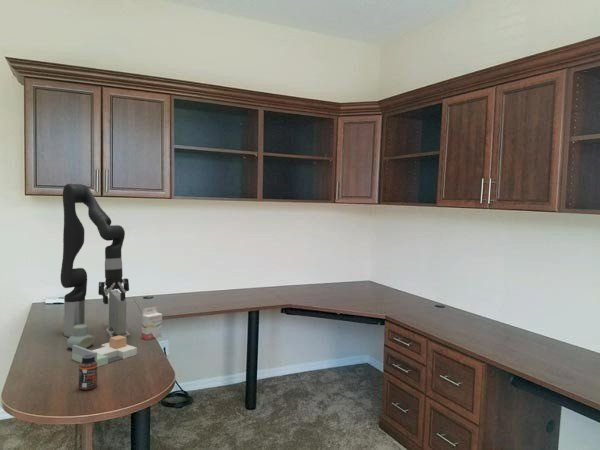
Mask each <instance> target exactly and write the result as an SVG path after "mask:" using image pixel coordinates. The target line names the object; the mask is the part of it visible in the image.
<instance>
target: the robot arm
mask: <svg viewBox="0 0 600 450" xmlns="http://www.w3.org/2000/svg"><path fill="white" fill-rule="evenodd" d="M62 203H63V234H62V235H63V236H62V237H63V238H62V239H63V241H62V244H63V246H62V248H63V249H62V250H63V251H62V261H61V269H60V283H61V285H62V287H63V288H64V289H70V288H73V289H72V290H71V291H70V292H68V293H66V294H65V295H64V297H63V299H64V301H63V302H64V306H63V307H64V308H63V309H64V311H63V312H64V313H63V336H65V337H69V338H70V337H71V336H73V327H74V326H76V325H81V324H85V325H86V296H87V290H88V289H87V287H88V273H87V270H86V269H85V268H83V267H77V268H74V263H75V259H76V256H78V254H79V252H80V251H81V249H82V248H83V245H84V243H85V227H84V226H83V223H82V222H81V219H79V217H78V214H77V210H76V203H77V204H83V205H85V206H86V207H87V208H88V211H87V212H88V213H87V214H88V217H89V219H90V221H91V222H92V223H93V224H94V225H95V226H96V229H97V230H98V233H99V236H100V238H101V239H102V240H105V241H112V242H111V244H110V245H107V246H105V249H104V278H105V281H99V282H98V294H97V295H99V296H102V303H103V304H104V305H109V292H110V291H111V290H118V291H119V292H120V296H121V301H125V298H126V293H127V292H129V291H130V285H129V279H128V278H123V260H122V248H123V244H124V240H125V236H126V235H125V229H124V227H123V226H122V225H118V224H114V225H112V220H111V218H110V216H109V215H107V213H106V211H104V210H103V209H102V207H101V206H100V204H99V203H98V201H97V200H96V198H95V196H94V194H93V193H92V191H91V190H90V188H89V187H88V186H87V185H85V184H81V183H80V184H79V183H78V184H77V183H67V184H64V187H63V189H62Z"/></svg>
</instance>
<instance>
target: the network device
mask: <svg viewBox="0 0 600 450" xmlns="http://www.w3.org/2000/svg"><path fill="white" fill-rule="evenodd" d="M120 293H121V292H120V290H118V289H114V290H111V291H110V292H109V294H108V325H109V326H110V327H107V328H106V329H105V330H106V332H107V334H108V336H109V338H111V337H115V336H119V335H121V336H124V337H126V336H127V337H129V336H130V333H129V331H128V330H127V298H126V297H125V301H121V296H120ZM111 330H112V331H111ZM114 335H115V336H114Z"/></svg>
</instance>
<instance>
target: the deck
mask: <svg viewBox="0 0 600 450" xmlns="http://www.w3.org/2000/svg"><path fill="white" fill-rule="evenodd" d="M71 351H72V353H71V355H72V356H71V360H72V361H75V362H77V363H79V364H80V363H81V362H82V357H83V356H84V355H94V356H95V359H94V360H95V361H97V368H98V367H99V368H100V367H102V366H106V365H108V364H112V363H115V362H117V361H120V360H124V359H126V358H130V357H131V358H132V357H133V356H137V355H138V348H137V347H136V346H133V345H129V344H126V346H125V347H122V348H119V349H114V348H111V347H109V342H106V343H103V344H101V345H100V348H97V349H93V350H91V349H88V348H83V347H80V346H77V345H72V348H71Z"/></svg>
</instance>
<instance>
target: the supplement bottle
mask: <svg viewBox="0 0 600 450" xmlns="http://www.w3.org/2000/svg"><path fill="white" fill-rule="evenodd" d="M94 359H95V356H94V355H84V356H83V357H82V362H81V363H80V362H79V365H78V389H80V390H82V391H87V390H93V389H94V388H96V387H97V385H98V367H97V361H95V360H94Z"/></svg>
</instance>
